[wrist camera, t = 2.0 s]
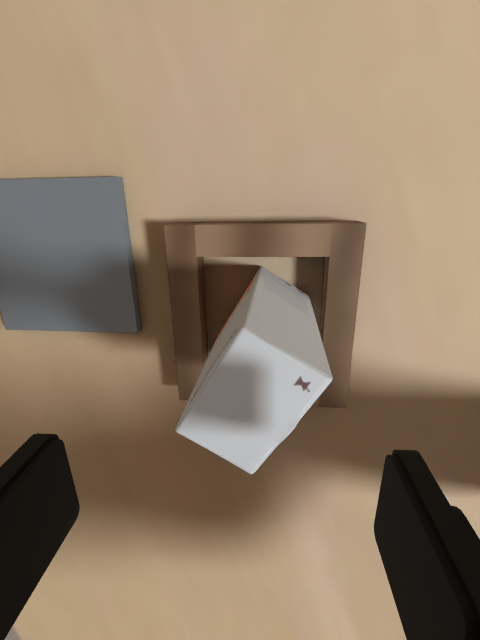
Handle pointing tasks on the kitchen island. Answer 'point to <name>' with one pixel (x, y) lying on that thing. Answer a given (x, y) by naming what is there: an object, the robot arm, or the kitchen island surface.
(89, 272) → the slate mat
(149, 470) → the kitchen island surface
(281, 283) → the skincare box
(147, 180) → the kitchen island surface
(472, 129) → the kitchen island surface
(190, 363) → the pocket holder
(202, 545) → the kitchen island surface
